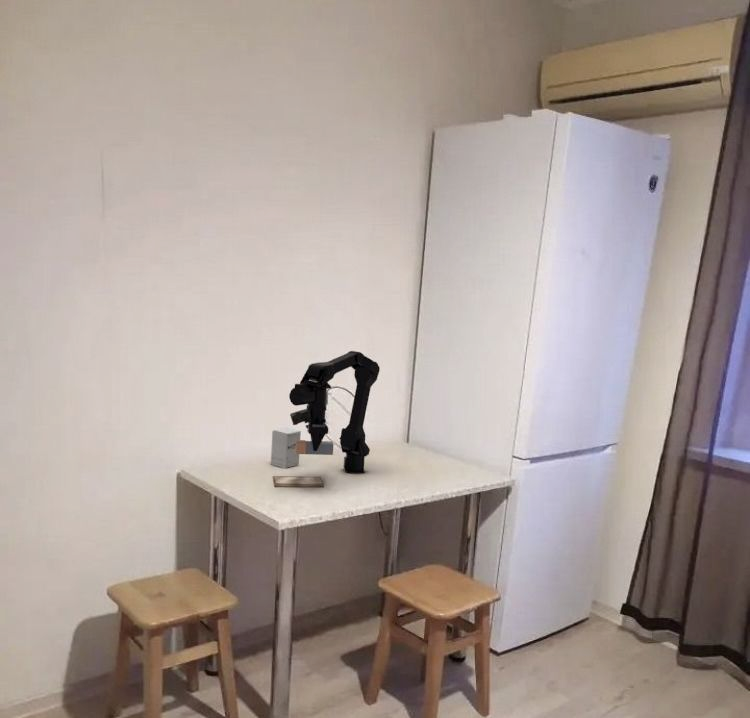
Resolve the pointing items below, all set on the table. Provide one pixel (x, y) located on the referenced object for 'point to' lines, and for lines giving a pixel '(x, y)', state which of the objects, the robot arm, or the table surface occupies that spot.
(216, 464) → the table surface
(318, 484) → the writing board
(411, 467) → the table surface
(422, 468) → the table surface
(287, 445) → the supplement box
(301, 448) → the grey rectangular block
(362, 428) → the robot arm
